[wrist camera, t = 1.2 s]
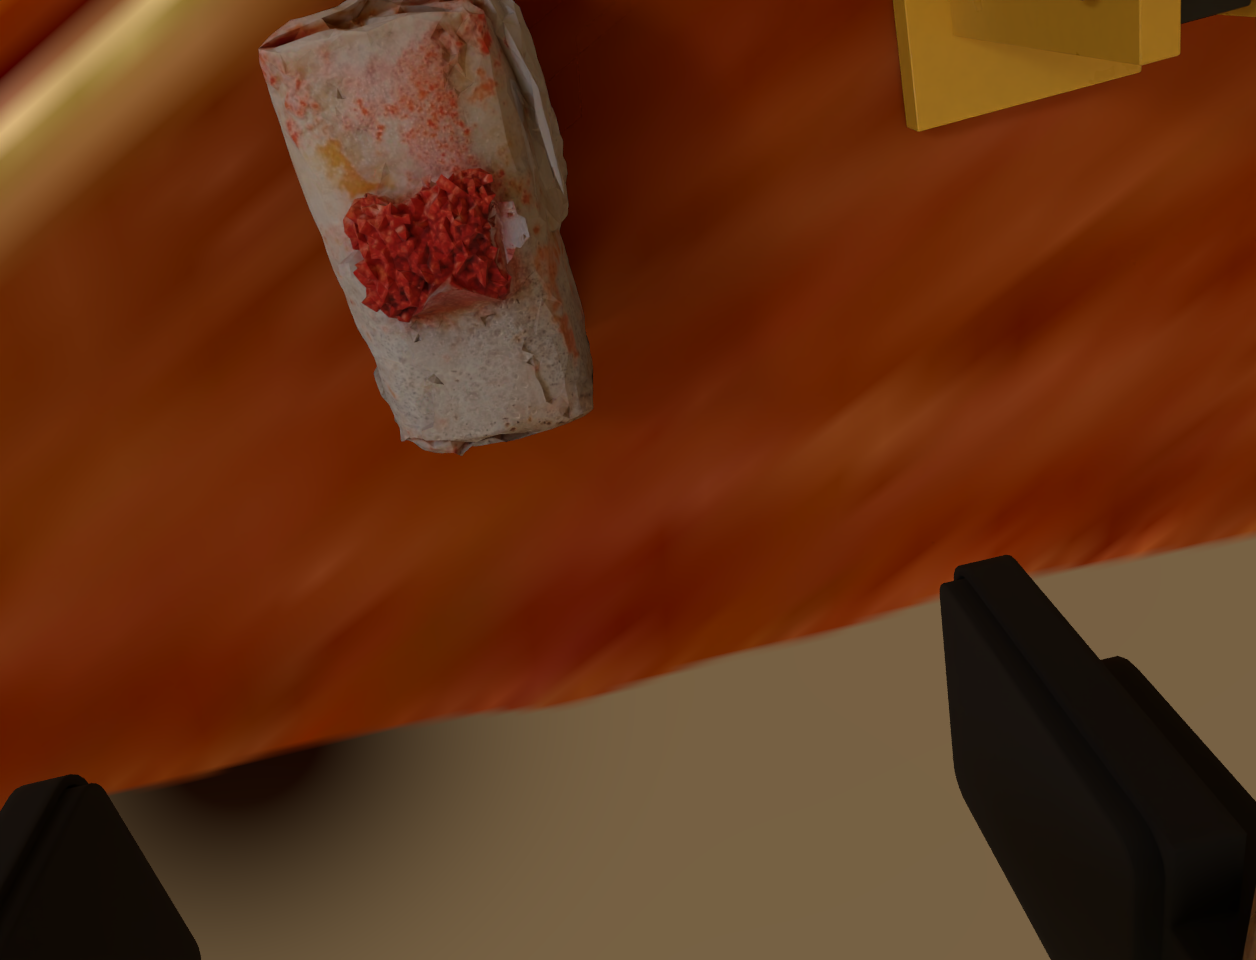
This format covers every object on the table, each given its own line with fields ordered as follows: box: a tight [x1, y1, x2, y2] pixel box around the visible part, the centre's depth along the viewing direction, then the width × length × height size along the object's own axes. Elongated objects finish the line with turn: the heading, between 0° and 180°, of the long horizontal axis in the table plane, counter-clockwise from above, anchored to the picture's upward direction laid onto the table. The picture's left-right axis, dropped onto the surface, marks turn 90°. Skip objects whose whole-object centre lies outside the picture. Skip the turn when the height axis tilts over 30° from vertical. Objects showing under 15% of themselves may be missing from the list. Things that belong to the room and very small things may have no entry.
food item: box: [259, 0, 593, 456], centre depth 32 cm, size 14×8×10 cm, turn 15°
